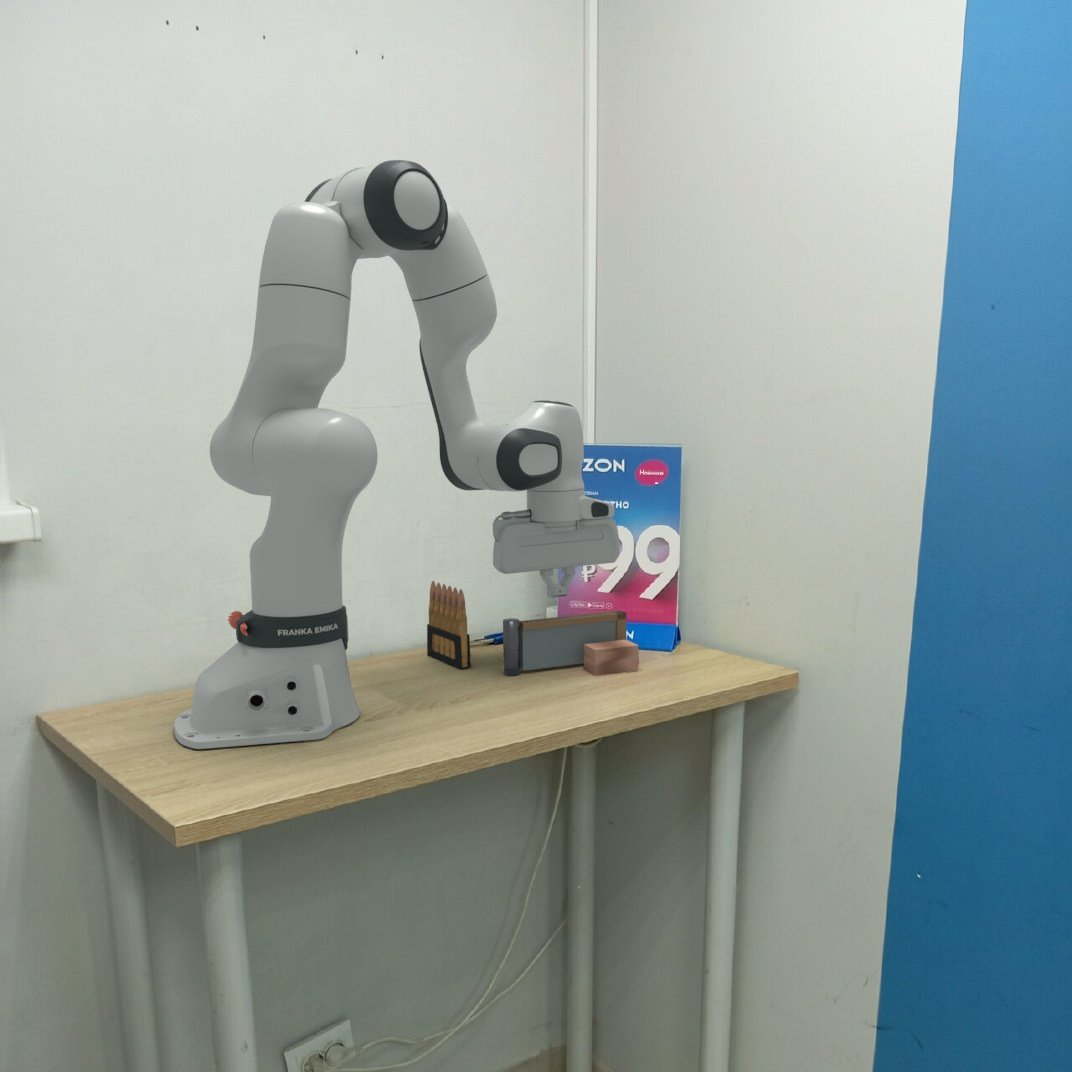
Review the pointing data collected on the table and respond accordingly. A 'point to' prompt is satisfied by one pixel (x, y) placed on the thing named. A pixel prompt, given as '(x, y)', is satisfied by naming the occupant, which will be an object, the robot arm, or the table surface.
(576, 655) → the gate
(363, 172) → the robot arm
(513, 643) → the hinge post
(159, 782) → the table surface
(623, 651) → the block
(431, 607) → the ammunition clip
